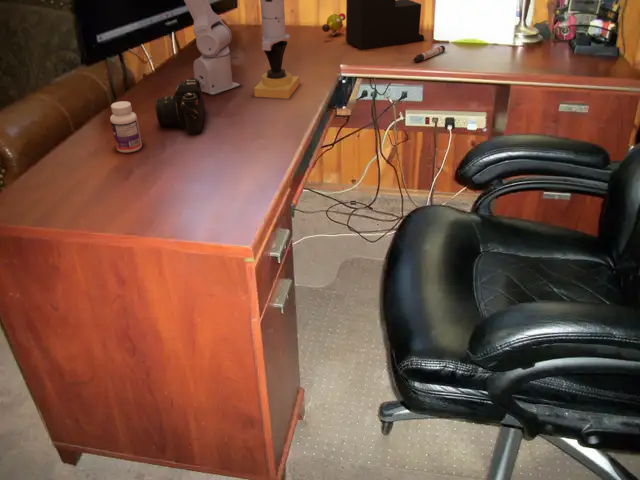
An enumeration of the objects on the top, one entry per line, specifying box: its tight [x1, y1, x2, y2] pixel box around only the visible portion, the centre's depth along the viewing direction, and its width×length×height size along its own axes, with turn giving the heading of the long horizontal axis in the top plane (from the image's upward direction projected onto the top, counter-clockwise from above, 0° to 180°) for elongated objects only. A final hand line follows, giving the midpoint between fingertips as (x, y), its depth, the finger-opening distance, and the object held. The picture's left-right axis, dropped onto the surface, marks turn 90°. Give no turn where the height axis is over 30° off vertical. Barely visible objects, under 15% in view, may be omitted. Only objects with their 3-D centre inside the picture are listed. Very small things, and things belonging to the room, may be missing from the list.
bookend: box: [345, 0, 425, 50], centre depth 194 cm, size 23×11×24 cm, turn 115°
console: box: [253, 71, 300, 99], centre depth 161 cm, size 11×9×4 cm
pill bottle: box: [110, 100, 143, 153], centre depth 130 cm, size 5×5×10 cm
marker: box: [413, 45, 446, 63], centre depth 184 cm, size 15×2×2 cm, turn 138°
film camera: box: [154, 77, 205, 135], centre depth 141 cm, size 18×12×10 cm
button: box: [266, 68, 286, 79], centre depth 160 cm, size 5×5×2 cm
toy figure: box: [321, 12, 346, 37], centre depth 206 cm, size 18×6×7 cm, turn 159°
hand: (276, 71), depth 159 cm, fingers closed, pressing on button
